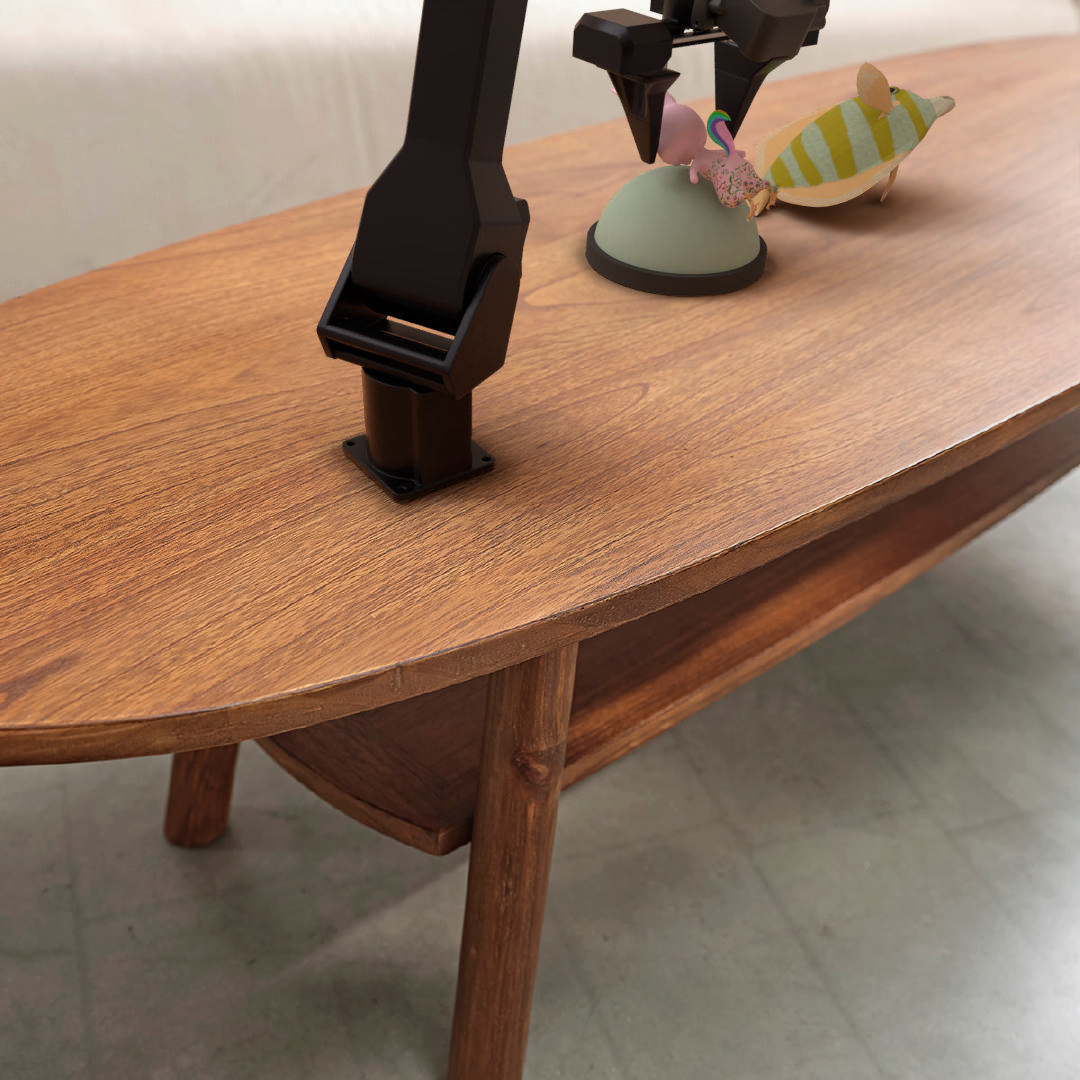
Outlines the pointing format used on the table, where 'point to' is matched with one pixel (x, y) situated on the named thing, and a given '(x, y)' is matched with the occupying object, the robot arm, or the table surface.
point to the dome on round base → (675, 237)
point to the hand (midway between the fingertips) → (686, 154)
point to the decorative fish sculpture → (846, 144)
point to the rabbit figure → (709, 154)
